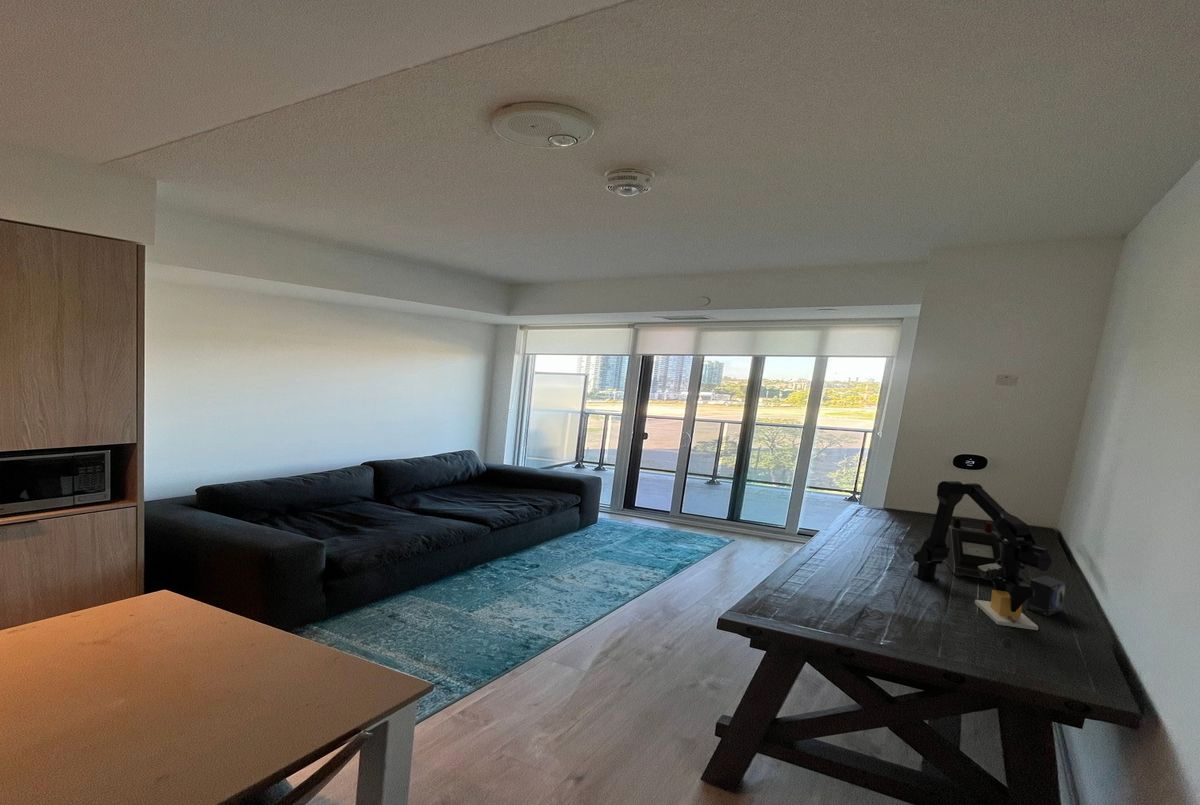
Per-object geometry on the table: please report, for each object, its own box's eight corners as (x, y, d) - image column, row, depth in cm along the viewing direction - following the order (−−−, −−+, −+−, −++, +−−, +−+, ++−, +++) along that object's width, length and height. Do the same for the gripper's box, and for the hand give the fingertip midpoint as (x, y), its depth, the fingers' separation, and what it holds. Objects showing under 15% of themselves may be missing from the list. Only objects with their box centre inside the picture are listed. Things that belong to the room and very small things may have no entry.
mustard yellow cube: (990, 607, 178) (992, 589, 178) (1010, 609, 177) (1012, 592, 177) (999, 615, 173) (1001, 597, 172) (1020, 618, 171) (1022, 599, 171)
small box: (1048, 617, 176) (1051, 586, 175) (1025, 608, 182) (1028, 579, 181) (1063, 611, 181) (1067, 581, 180) (1040, 603, 186) (1044, 574, 186)
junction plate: (974, 603, 184) (976, 589, 184) (1011, 608, 181) (1012, 594, 181) (998, 625, 168) (999, 610, 168) (1038, 631, 165) (1040, 616, 165)
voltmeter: (953, 577, 208) (959, 526, 206) (944, 563, 223) (949, 516, 221) (1003, 585, 202) (1009, 533, 200) (990, 570, 217) (995, 522, 215)
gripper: (970, 546, 184) (965, 590, 186) (996, 566, 166) (991, 614, 168) (1007, 551, 182) (1002, 595, 183) (1038, 571, 164) (1032, 620, 165)
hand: (1005, 605), depth 175 cm, fingers open, 9 cm apart
